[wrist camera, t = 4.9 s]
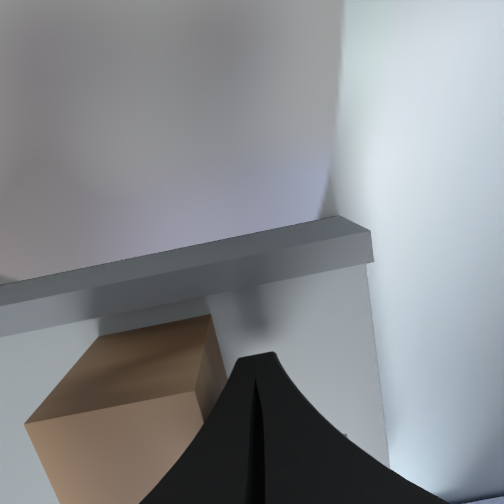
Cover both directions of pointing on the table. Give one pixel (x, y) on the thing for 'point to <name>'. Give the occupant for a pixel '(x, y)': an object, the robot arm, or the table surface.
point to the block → (128, 411)
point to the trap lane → (224, 319)
